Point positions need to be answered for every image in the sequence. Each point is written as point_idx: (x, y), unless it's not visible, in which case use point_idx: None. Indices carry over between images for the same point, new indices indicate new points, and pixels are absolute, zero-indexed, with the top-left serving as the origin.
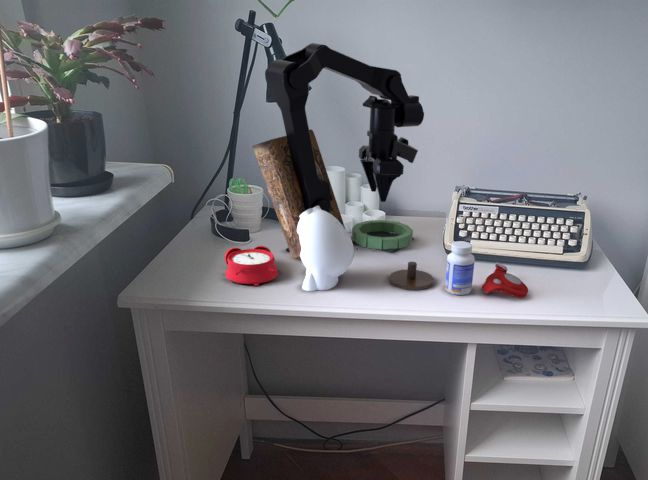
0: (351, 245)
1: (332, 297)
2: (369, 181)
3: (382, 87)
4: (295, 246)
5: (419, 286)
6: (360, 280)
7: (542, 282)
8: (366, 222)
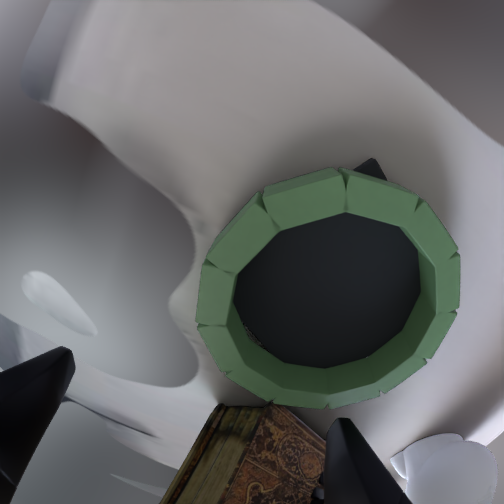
0: (496, 472)
1: (479, 438)
2: (45, 425)
3: None
4: None
5: None
6: (479, 406)
7: None
8: (220, 341)
